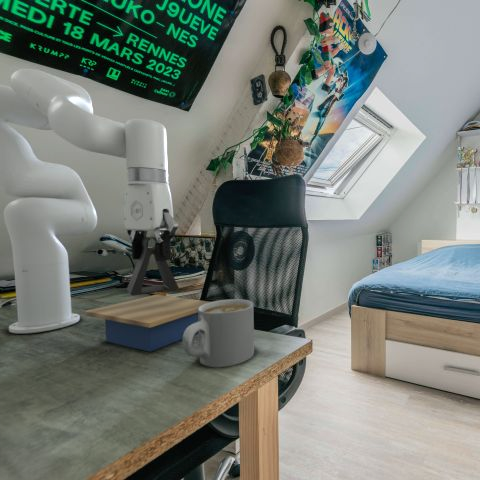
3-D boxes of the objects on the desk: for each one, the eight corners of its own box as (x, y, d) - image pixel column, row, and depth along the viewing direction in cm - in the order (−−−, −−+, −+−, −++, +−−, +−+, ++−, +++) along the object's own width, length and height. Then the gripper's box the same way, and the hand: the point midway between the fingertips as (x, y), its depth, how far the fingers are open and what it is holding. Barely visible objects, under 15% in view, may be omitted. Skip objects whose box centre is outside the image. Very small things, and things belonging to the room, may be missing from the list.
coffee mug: (239, 341, 70) (238, 296, 69) (263, 355, 63) (262, 305, 63) (172, 361, 60) (170, 309, 60) (191, 379, 54) (189, 321, 53)
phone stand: (130, 295, 67) (127, 238, 66) (126, 290, 71) (124, 237, 70) (178, 289, 73) (176, 236, 72) (172, 285, 77) (170, 235, 76)
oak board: (85, 315, 69) (85, 311, 69) (156, 298, 83) (156, 294, 83) (149, 328, 61) (149, 322, 61) (215, 306, 76) (215, 302, 76)
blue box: (106, 341, 70) (104, 314, 69) (158, 324, 81) (157, 301, 80) (150, 351, 65) (149, 322, 64) (199, 332, 76) (199, 307, 75)
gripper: (104, 178, 70) (108, 259, 71) (159, 175, 64) (163, 264, 65) (138, 182, 77) (142, 255, 78) (192, 179, 71) (194, 259, 72)
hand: (151, 258), depth 71 cm, fingers closed on phone stand, 6 cm apart
